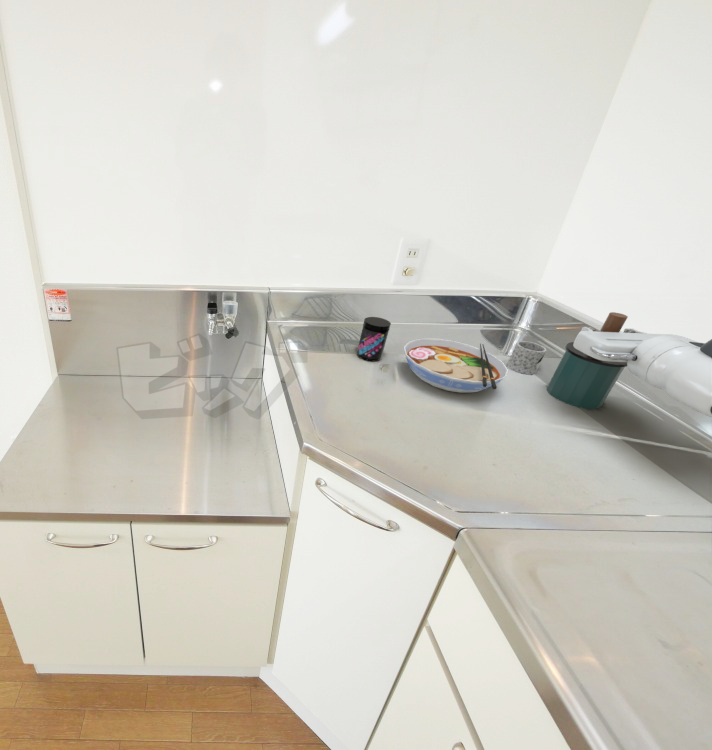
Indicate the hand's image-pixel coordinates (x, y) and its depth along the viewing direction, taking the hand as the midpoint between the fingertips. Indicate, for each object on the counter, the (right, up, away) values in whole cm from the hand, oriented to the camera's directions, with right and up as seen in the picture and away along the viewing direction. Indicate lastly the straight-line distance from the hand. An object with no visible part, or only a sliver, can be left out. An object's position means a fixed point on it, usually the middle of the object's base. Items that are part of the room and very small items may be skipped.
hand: (605, 330), depth 92 cm
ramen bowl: (-28, -12, +13) cm, 33 cm away
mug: (-2, -7, +24) cm, 25 cm away
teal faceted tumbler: (-1, -16, +8) cm, 18 cm away
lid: (0, -5, +2) cm, 6 cm away
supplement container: (-43, -5, +25) cm, 50 cm away
